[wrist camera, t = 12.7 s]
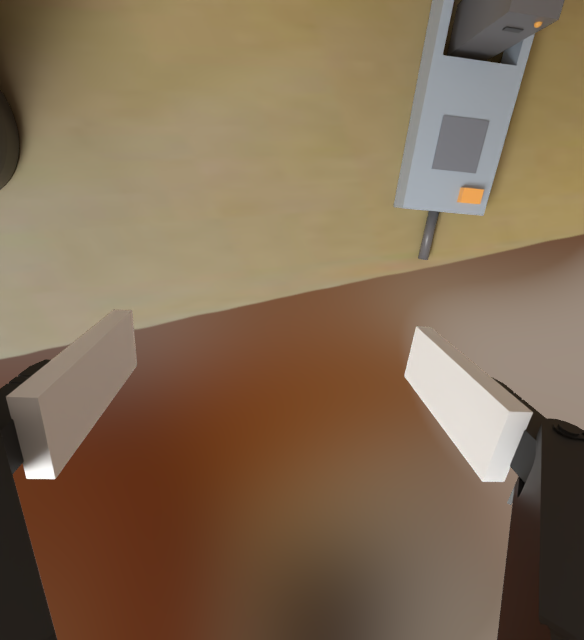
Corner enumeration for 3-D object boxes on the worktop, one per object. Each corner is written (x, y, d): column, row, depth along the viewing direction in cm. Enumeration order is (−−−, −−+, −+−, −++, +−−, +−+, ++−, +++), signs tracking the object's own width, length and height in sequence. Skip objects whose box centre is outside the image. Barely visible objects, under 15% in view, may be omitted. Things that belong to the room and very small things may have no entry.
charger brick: (446, 59, 36) (507, 16, 27) (457, 5, 35) (527, -62, 26) (483, 65, 37) (557, 24, 28) (496, 11, 35) (579, -52, 26)
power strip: (384, 255, 44) (394, 260, 40) (441, -49, 33) (462, -78, 30) (456, 260, 45) (473, 266, 41) (534, -33, 34) (565, -58, 31)
